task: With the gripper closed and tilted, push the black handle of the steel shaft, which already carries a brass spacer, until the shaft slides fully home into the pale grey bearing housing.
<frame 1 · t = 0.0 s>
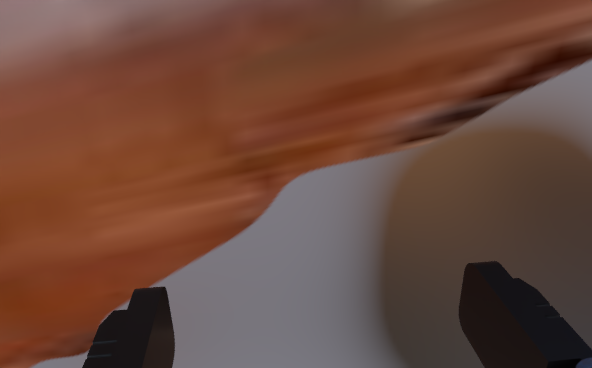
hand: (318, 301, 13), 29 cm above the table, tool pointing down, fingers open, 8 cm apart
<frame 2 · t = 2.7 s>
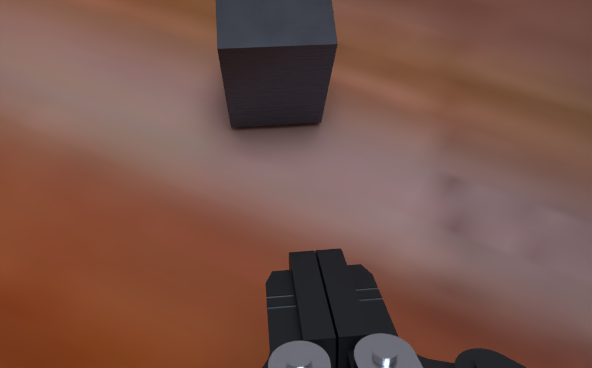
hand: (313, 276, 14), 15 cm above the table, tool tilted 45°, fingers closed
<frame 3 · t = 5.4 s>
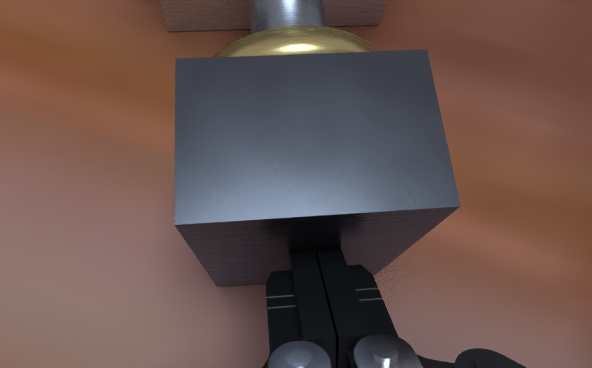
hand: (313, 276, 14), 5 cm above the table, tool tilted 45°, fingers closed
shaft: (282, 3, 17), point 5 cm above the table, slide at 6.5 cm, touching gripper
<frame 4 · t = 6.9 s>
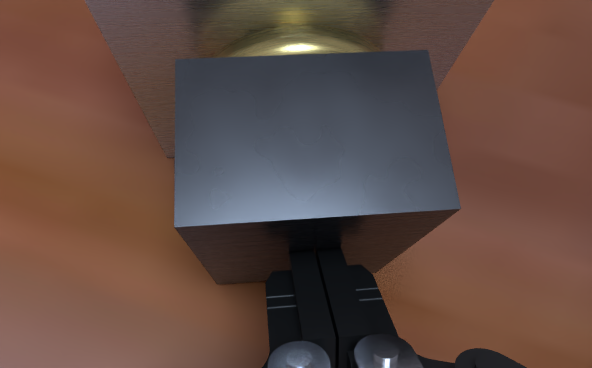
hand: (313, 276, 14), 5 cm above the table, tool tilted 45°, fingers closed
shaft: (283, 0, 17), point 5 cm above the table, slide at -0.1 cm, touching gripper
housing: (276, 33, 22), on the table
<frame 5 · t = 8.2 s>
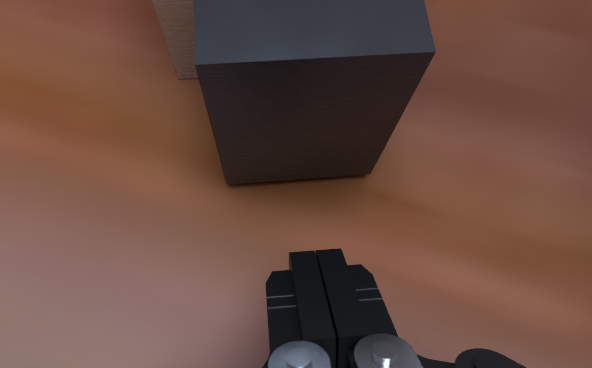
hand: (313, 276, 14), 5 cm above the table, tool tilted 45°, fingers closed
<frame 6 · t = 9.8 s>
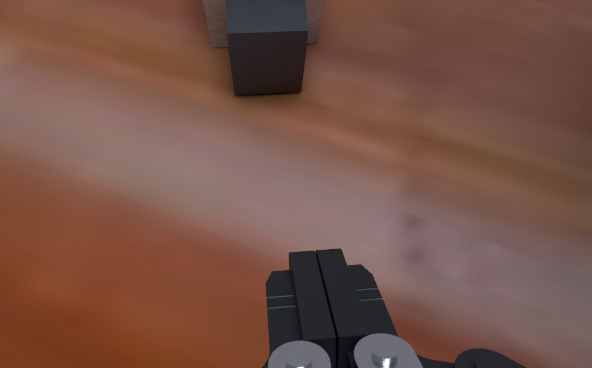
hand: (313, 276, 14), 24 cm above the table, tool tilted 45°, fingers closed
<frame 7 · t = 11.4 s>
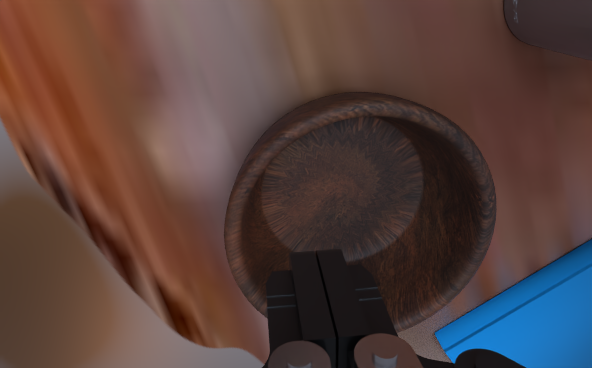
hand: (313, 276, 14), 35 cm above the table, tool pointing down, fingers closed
book: (538, 317, 64), on the table
wooden bowl: (341, 188, 52), on the table
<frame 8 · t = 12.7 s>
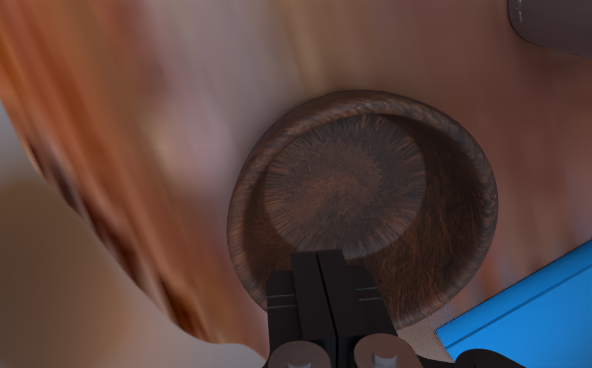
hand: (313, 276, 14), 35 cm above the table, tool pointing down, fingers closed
book: (540, 316, 64), on the table
wooden bowl: (344, 185, 52), on the table
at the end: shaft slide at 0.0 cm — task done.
